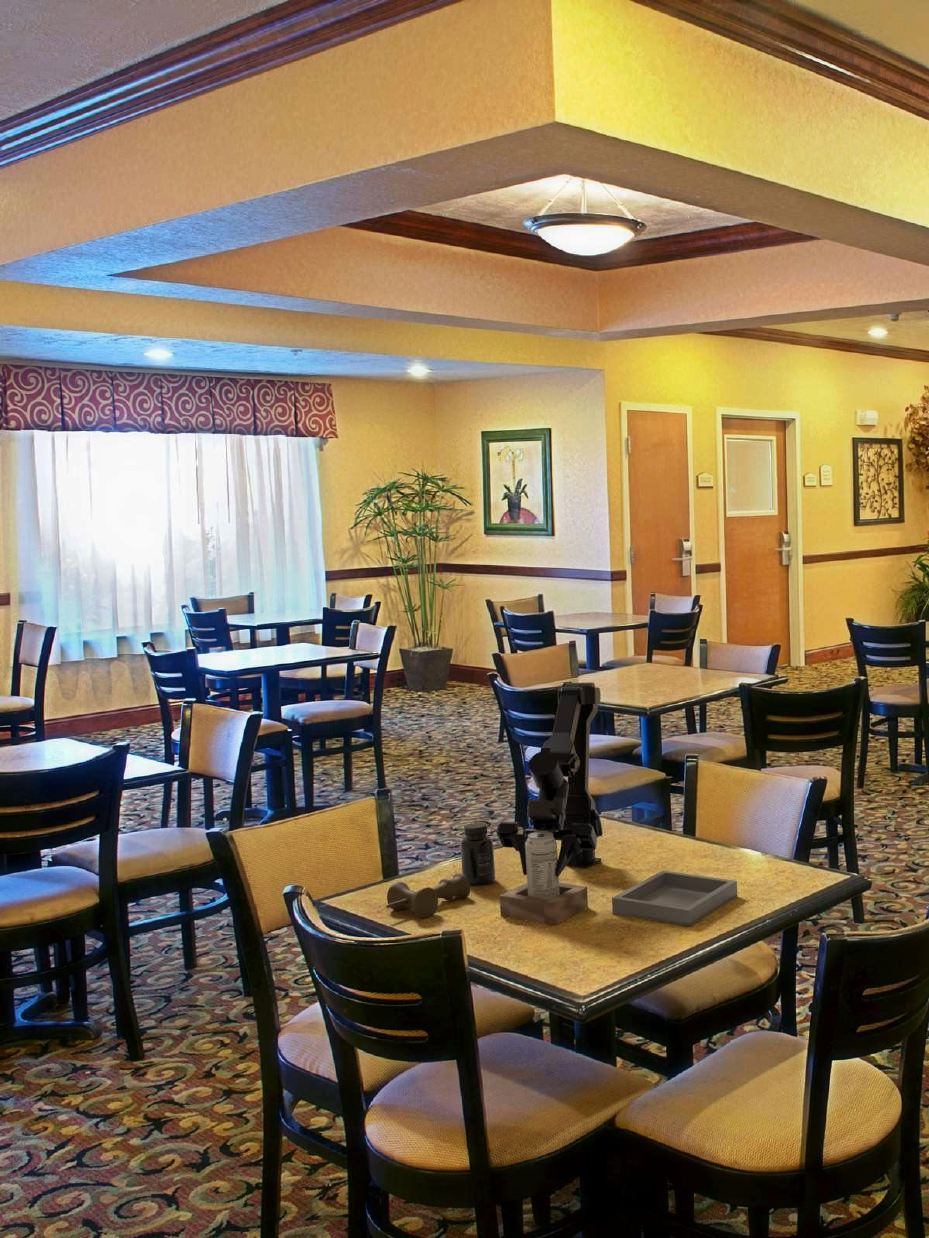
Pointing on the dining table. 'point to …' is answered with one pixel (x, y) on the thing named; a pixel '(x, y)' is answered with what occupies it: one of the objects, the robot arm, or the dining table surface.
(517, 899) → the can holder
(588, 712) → the robot arm
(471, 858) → the supplement bottle
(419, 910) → the kendama
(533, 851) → the energy drink can
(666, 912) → the parts tray
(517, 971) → the dining table surface
